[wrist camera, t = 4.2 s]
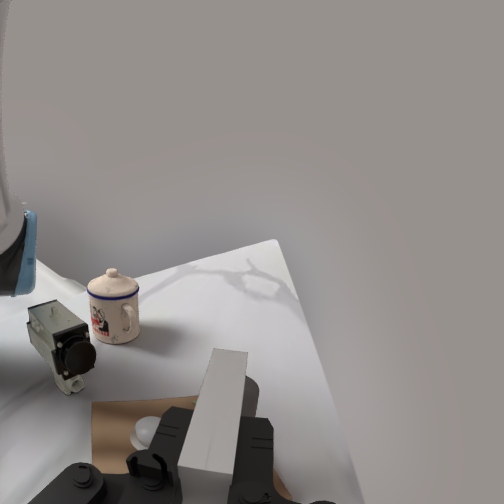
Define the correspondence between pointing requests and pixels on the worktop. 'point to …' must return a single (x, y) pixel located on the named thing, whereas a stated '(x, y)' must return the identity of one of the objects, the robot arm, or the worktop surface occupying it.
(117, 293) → the teacup with lid
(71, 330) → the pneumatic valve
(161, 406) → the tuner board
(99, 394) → the worktop surface
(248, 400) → the peg lever
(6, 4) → the robot arm
